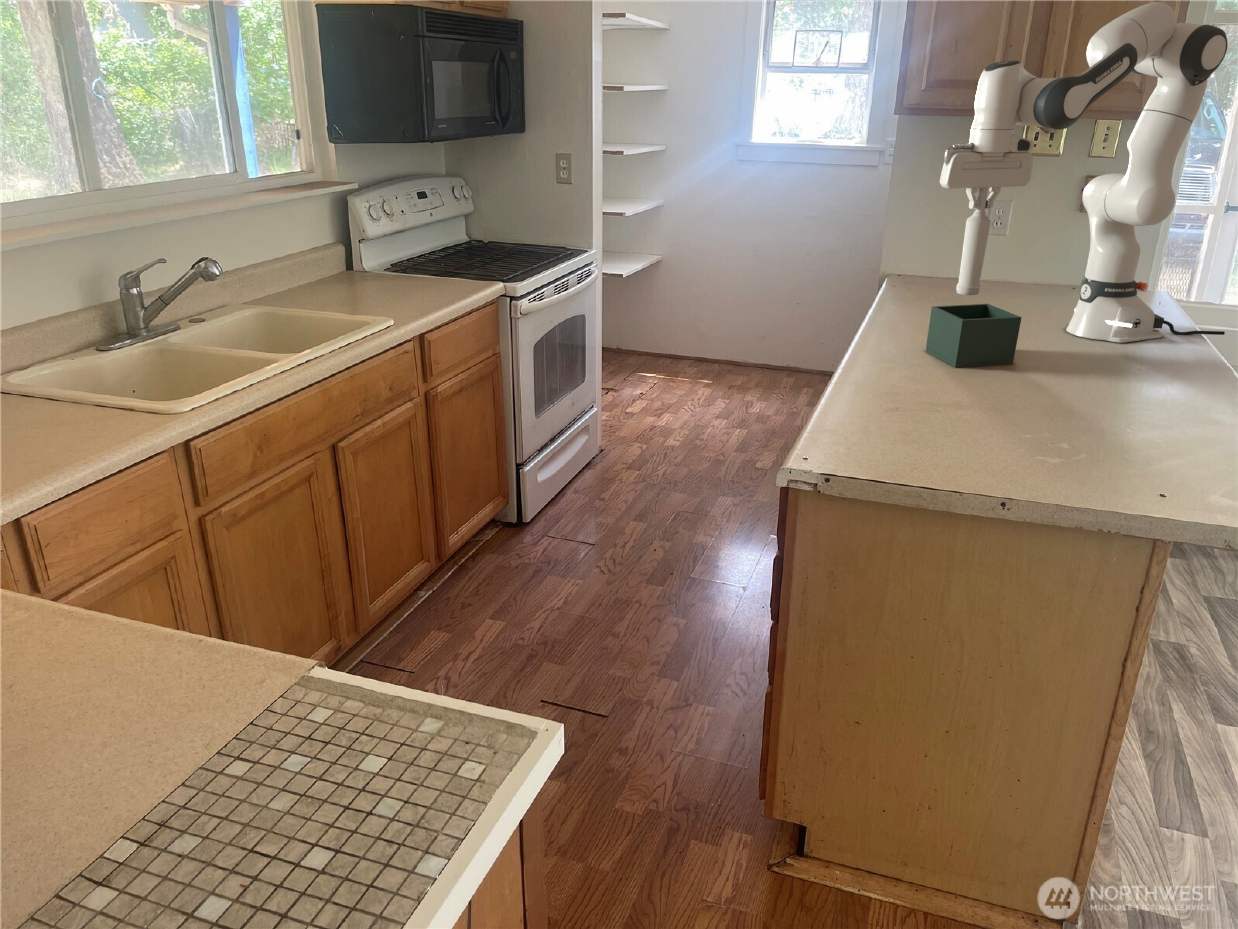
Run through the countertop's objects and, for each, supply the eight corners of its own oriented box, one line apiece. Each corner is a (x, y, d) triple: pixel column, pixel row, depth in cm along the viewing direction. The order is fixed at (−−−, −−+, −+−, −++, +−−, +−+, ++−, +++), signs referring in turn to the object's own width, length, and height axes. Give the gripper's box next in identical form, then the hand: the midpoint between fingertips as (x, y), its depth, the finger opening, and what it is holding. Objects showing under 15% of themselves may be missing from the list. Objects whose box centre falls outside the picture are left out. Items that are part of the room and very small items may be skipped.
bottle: (981, 295, 200) (999, 182, 190) (957, 294, 201) (974, 181, 191) (977, 290, 205) (994, 179, 195) (954, 290, 206) (970, 179, 196)
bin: (980, 347, 213) (987, 303, 209) (1013, 363, 201) (1021, 317, 196) (925, 351, 211) (931, 306, 206) (955, 367, 198) (962, 320, 194)
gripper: (954, 144, 185) (945, 211, 191) (1041, 142, 188) (1029, 208, 194) (939, 142, 191) (930, 208, 196) (1023, 140, 194) (1013, 205, 200)
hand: (980, 208), depth 195 cm, fingers closed on bottle, 2 cm apart
